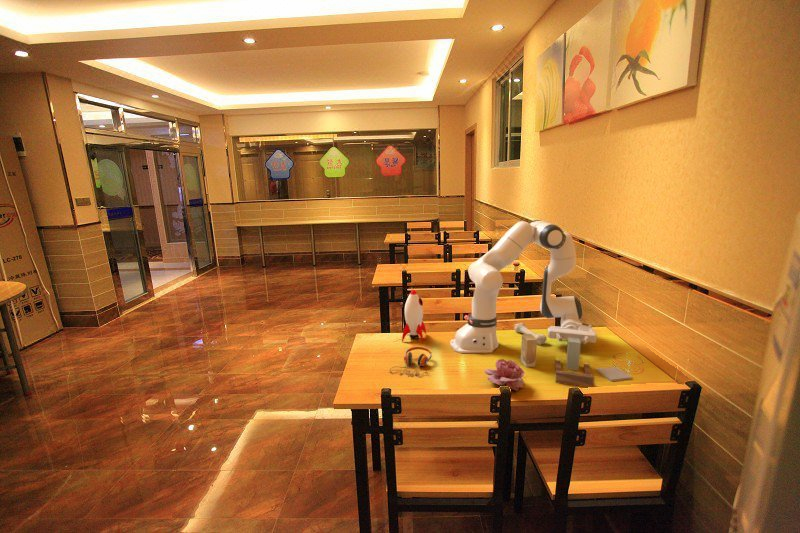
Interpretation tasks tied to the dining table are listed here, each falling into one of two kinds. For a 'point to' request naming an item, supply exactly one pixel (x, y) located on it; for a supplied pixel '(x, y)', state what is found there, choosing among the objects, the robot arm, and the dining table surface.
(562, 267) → the robot arm
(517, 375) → the flower
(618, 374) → the coaster
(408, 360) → the headphones
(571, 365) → the block
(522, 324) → the dog toy
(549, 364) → the dining table surface
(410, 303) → the rocket
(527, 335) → the skincare box
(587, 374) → the channel
